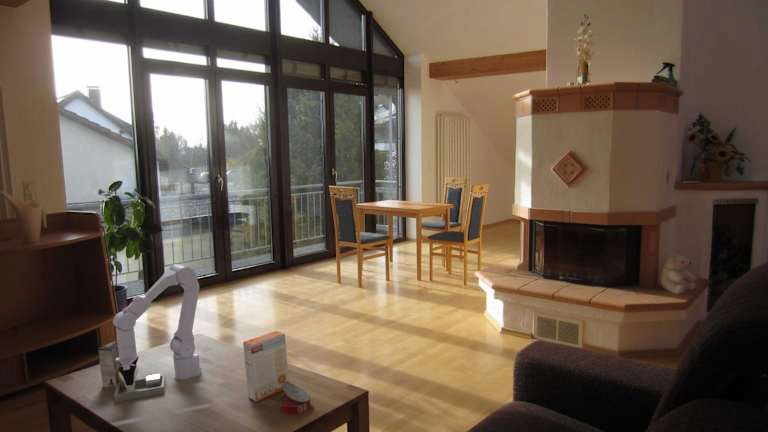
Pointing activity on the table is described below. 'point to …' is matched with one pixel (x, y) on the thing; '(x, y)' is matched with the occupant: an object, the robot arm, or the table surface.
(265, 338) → the cracker box
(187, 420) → the table surface
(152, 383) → the steel block
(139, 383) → the tote
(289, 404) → the canned food
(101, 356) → the coffee box
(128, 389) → the lightbulb
